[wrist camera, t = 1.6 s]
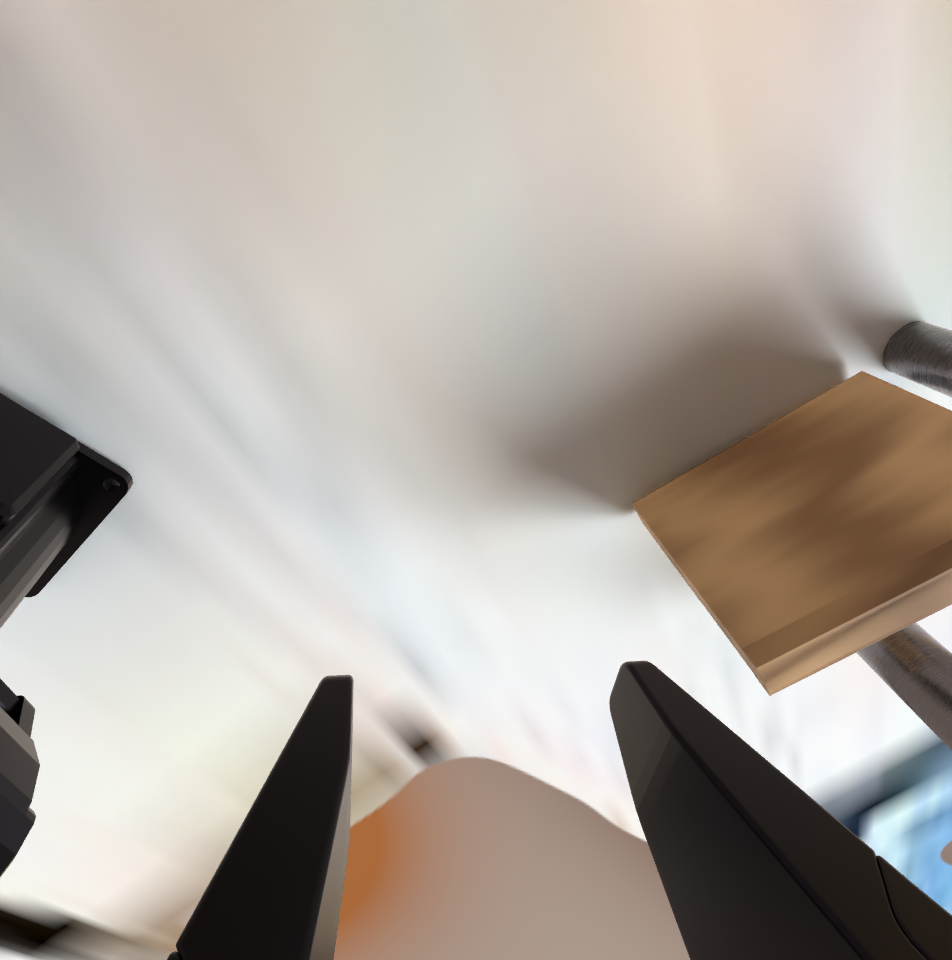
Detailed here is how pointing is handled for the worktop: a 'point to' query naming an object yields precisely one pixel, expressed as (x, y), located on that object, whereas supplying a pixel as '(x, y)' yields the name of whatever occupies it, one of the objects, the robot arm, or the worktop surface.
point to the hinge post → (922, 355)
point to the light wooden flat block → (817, 528)
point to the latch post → (917, 675)
